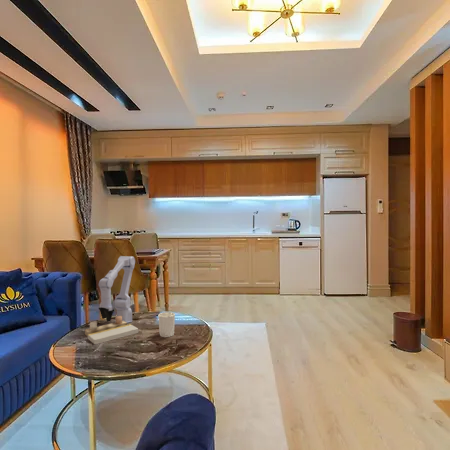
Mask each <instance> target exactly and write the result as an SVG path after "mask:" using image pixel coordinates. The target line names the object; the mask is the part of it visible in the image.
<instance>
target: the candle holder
mask: <svg viewBox="0 0 450 450" xmlns="http://www.w3.org/2000/svg"><path fill="white" fill-rule="evenodd" d="M157 317H158V328H159V329H158V330H159V336H160V337H162V338H170V337H172V336H174V335H175V324H176V323H175V322H176V321H175V319H176V318H175V317H176V314H175V312H171V311H165V312H161V313H158V315H157Z"/></svg>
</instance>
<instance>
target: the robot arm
mask: <svg viewBox="0 0 450 450" xmlns="http://www.w3.org/2000/svg"><path fill="white" fill-rule="evenodd" d="M135 264H136V258H135V257H134V256H132V255H131V256H130V255H129V256H127V255H125V256H124V255H120V256H119V257H118V258H117V263H116V264H115V266H114V268H113V269H110V270H109V271H108V272H107V274H106V275H105V276H104V277H103V278H101V279H100V280H99V282H98V287H99V290H100V303H99V307H98V310H99V312H100V316H101V318H102V320H103V319H104V320H105V319H106V322H107V323H108V322H109V323H110V322H111V321H112V317H113V314H114V312H115V310H116V316H122V321H125V322H127V324H128V323H129V324H130V323H133V312H132V308H131V303H132V302H131V300H132V298H131V297H130V296H129V291H130V286H131V282H132V281H131V280H132V275H133V270H134V269H135ZM121 270H123V272H124V273H123V275H122V276H123V277H122V281H121V287H120V290H119V294H117V295H116V296H115V298H114V301H113V305H112V290H111V289H112V287H113V284H114V282H115V280H116V279H117V277H118V275H119V274H118V273H119V272H120V271H121ZM113 307H114V309H113ZM113 323H116V321H115V320H114V322H113Z"/></svg>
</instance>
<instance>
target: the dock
mask: <svg viewBox="0 0 450 450" xmlns="http://www.w3.org/2000/svg"><path fill="white" fill-rule="evenodd" d="M138 333H139V328H138V327H136V326H134V325H133V324H131V323H129V324H127V325H125V326H121V327H117V328H112V329H108V330H104V331H100V332H96V333H92V334H88V337H87V340H88V341H90V342H91V343H92V344H93V345H98V344H102V343H106V342H109V341H113V340H117V339H120V338H124V337H128V336H131V335H136V334H138Z"/></svg>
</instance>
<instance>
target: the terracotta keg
mask: <svg viewBox="0 0 450 450" xmlns="http://www.w3.org/2000/svg"><path fill="white" fill-rule="evenodd" d="M114 321H116V324H121V323H122V316H117V315H116V316H115V320H114Z"/></svg>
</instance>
